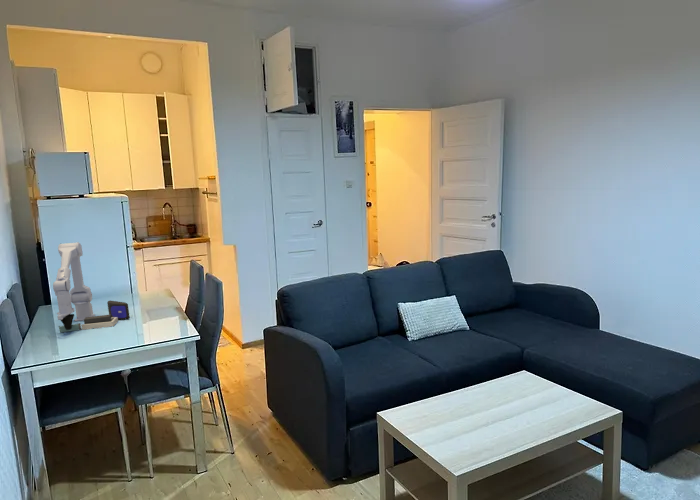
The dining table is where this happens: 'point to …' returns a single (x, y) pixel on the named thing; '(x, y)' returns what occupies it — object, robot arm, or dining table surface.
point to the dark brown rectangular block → (97, 319)
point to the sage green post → (74, 327)
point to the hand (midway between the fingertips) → (68, 329)
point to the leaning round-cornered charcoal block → (118, 310)
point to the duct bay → (100, 324)
